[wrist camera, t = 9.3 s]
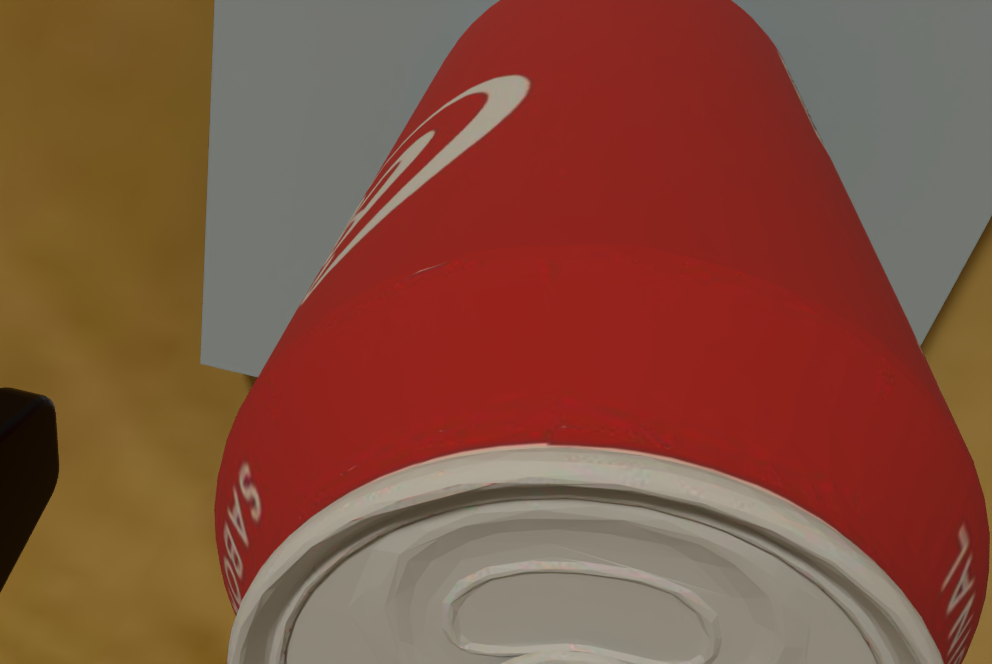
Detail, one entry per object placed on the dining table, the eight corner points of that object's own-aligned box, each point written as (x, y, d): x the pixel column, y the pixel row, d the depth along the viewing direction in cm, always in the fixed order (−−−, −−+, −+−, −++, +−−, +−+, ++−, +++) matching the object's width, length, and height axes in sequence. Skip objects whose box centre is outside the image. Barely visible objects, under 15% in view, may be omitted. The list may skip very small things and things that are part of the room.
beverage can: (423, -53, 15) (23, 342, 5) (823, -49, 15) (1242, 416, 5) (440, 286, 19) (214, 928, 9) (767, 303, 18) (938, 1021, 8)
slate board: (1173, -218, 14) (1226, -214, 13) (817, 469, 22) (828, 514, 21) (268, -440, 14) (232, -458, 13) (225, 327, 22) (200, 363, 20)
